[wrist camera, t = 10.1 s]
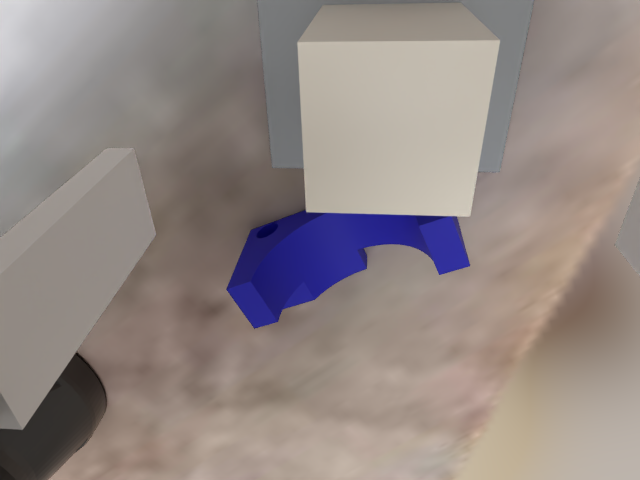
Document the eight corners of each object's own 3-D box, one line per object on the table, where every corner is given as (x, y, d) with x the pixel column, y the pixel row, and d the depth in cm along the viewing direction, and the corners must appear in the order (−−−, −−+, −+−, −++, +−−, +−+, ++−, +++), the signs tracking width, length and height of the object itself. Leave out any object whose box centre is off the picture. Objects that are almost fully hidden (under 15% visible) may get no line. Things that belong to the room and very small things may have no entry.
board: (276, 158, 27) (251, 214, 22) (243, -234, 18) (188, -297, 13) (494, 162, 26) (524, 222, 20) (575, -256, 17) (662, -335, 12)
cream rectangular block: (325, 134, 24) (306, 212, 18) (322, 5, 21) (297, 42, 14) (444, 135, 24) (470, 216, 17) (461, 2, 20) (500, 40, 14)
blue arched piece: (284, 280, 32) (267, 346, 27) (251, 228, 30) (226, 289, 25) (461, 224, 28) (478, 288, 23) (437, 160, 26) (451, 215, 21)
